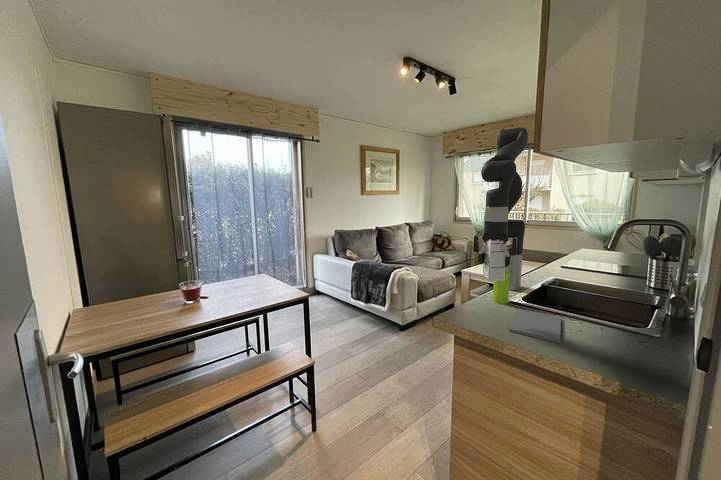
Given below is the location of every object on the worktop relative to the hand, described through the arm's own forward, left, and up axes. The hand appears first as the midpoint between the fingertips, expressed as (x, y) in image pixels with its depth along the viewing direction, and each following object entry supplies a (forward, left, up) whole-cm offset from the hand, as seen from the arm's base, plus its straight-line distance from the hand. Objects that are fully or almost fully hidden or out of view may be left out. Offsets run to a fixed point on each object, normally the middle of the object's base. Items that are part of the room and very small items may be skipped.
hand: (493, 265), depth 102 cm
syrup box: (0, 0, -5) cm, 5 cm away
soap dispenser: (-22, 0, -21) cm, 30 cm away
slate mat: (-4, +14, -21) cm, 25 cm away
